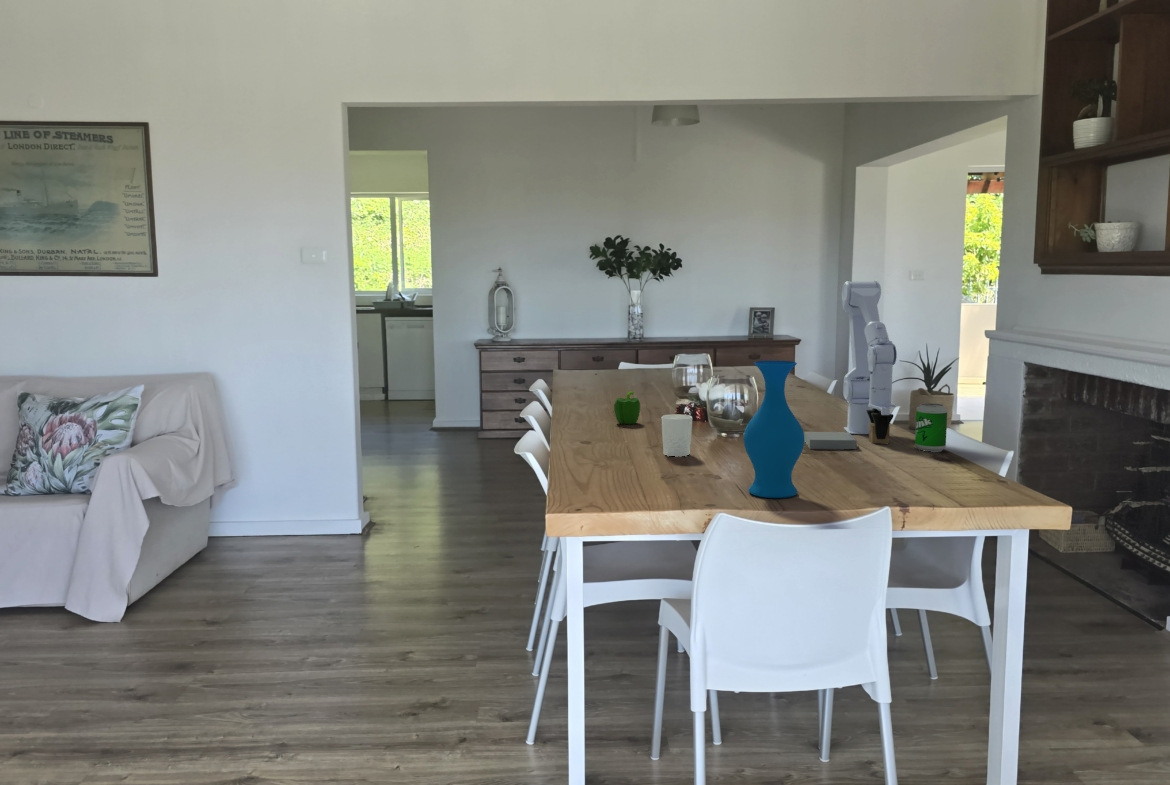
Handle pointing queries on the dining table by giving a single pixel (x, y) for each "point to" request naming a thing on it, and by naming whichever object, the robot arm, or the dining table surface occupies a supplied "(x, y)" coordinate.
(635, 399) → the bell pepper
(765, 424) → the vase
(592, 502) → the dining table surface
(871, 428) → the walnut cube
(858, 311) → the robot arm
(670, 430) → the white cup
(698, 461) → the dining table surface
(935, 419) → the soda can
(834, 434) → the plinth
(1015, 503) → the dining table surface
